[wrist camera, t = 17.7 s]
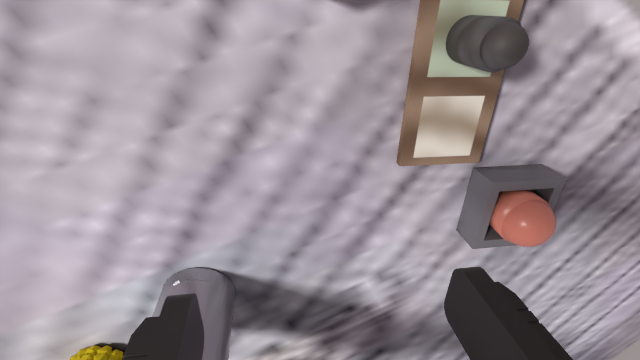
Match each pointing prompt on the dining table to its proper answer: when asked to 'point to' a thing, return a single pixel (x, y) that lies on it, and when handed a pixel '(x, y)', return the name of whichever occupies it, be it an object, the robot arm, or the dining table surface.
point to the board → (448, 88)
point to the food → (98, 354)
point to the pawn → (487, 42)
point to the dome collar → (486, 192)
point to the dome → (523, 218)
